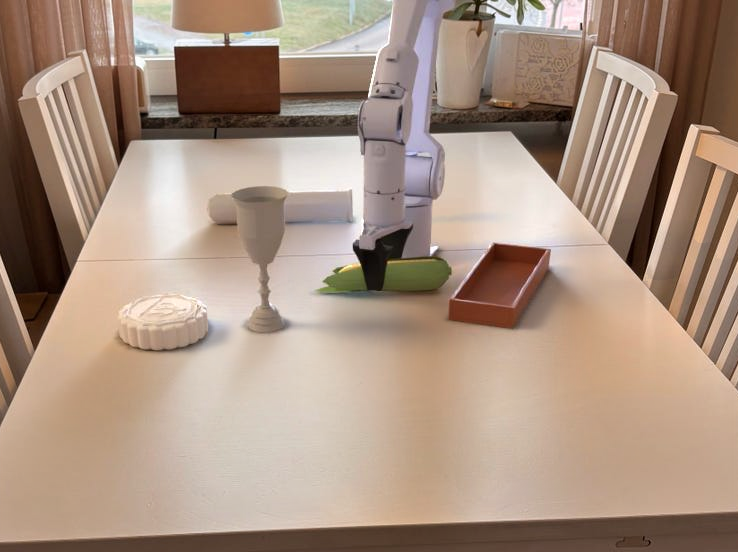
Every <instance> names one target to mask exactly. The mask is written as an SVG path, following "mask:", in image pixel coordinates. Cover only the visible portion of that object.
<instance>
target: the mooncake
mask: <svg viewBox="0 0 738 552" xmlns="http://www.w3.org/2000/svg"><path fill="white" fill-rule="evenodd" d="M117 326H118V333H119V337H120V338H121V339H122V341H123V343H124V344H128V345H130V347H132V348H139V349H141V350H145V351H146V350H147V351H148V350H152V351H163V350H167V351H168V350H169V351H170V350H171V351H172V350H174V349H176V348H185V347H187V346H188V345H192V344H196V343H197V342H198V341H199V340H202V339H203V338H205V336H206V334H207V333H208V332H209V322H208V310H207V306H206V305H205V304H203V302H202V301H201V300H197V299H196V298H194V297H191V296H185V295H183V294H180V293H177V294H171V293H163V294H156V295H152V296H141V297H140V298H138V299H136V300H131V301H130V302H129V304H125V305H123V306H122V307H121V309H120V310H119V311H118V312H117Z"/></svg>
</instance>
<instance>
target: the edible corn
mask: <svg viewBox="0 0 738 552" xmlns="http://www.w3.org/2000/svg"><path fill="white" fill-rule="evenodd" d="M452 270H453V269H452V266H450V265H449V263H448V262H447V260H445V259H444V258H442V257H438V256H432V257H429V256H424V257H410V258H400V259H392V260H388V263H387V267H386V273H385V280H384V285H383V288H382V291H381V292H427V291H436V290H437V289H438V288H441V287H442V286H443V285H444V284H445V283H446V282H447V281H448V280H449V278H450V276H452V274H453V273H452V272H453V271H452ZM331 272H333V274H331V275H328V276H326V277H325V278H324V279H323V280H322V281H321V283H323V284H325V285H327V286H324V287H320V288H318V289H315V290H314V292H319V293H326V294H327V293H328V294H329V293H330V294H345V293H354V292H355V293H356V292H372V291H371V290H367V287H366V283H365V279H364V274H363V271H362V267H361V264H360V262H356V263H352V264H348V265H343V266H339V267H336V268H334V269H333V270H331Z"/></svg>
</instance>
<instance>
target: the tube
mask: <svg viewBox="0 0 738 552" xmlns="http://www.w3.org/2000/svg"><path fill="white" fill-rule="evenodd" d="M286 191H287V192H288V194H287V197H286V199H285V201H284V214H285V223H311V222H349V223H353V220H354V219H353V216H354V215H353V214H354V210H353V209H354V208H353V207H354V206H353V205H354V204H353V203H354V202H353V189H352V187H349V188H347V189H327V190H293V191H289V190H286ZM232 193H233V192H221V193H220V192H219V193H214V195H212V196H211V197H210V198H209V199H208V200H207V206H206V210H207V211H206V212H207V214H208V216H209V218H210V220H211V221H212V222H213V223H214V224H217V225H235V224H237V210H236V203H235V201H234V200H233V198H232Z"/></svg>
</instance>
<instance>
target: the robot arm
mask: <svg viewBox="0 0 738 552" xmlns="http://www.w3.org/2000/svg"><path fill="white" fill-rule="evenodd" d="M456 1H457V0H392V9H391V17H390V24H389V33H388V41H387V43H386V44H385V45H384V46H382V47H381V48H380V49H379V50H378V51H377V55H376V60H375V63H374V68H373V74H372V78H371V83H370V86H369V92H368V97H367V100H362V101H361V103H360V105H359V109H358V116H357V134H358V137H359V138H358V139H359V143H360V146H359V147H360V151H359V152H360V155H361V156H363V200H362V201H363V202H362V203H363V208H362V209H363V215H362V219H361V233H360V234H359V238H358V239H355V241H354V242H352V251H353V253H354V254H355V256H356V258H357V259H358V263H360V264H361V267H362V271H363V274H364V279H365V283H366V287H367V290H371V291H370V292H378V293H379V292H383V291H382V288H383V285H384V280H385V273H386V267H387V263H388V260H392V259H400V258H410V257H424V256H429V257H434V255H435V254H436V253H438V251H439V246H436V245H432V244H431V243H432V224H433V201H437V200H438V199H439V198H440V197H441V196H442V193H443V191H444V190H443V189H444V184H445V176H446V166H445V159H446V152H445V149H444V146H443V145H442V143H440V142H439V141H438V140H437V139H436V138H435V137H434V136H433V135H432V134H430V124H431V114H432V105H433V95H434V88H435V87H434V86H435V77H436V66H437V57H438V49H439V39H440V29H441V25H442V21H443V17H444V14H445V13H447V12H448V11H450V10H452V9H454V8H455V7H456ZM406 152H410V153H417V154H427V155H429V156H425V155H424V156H423V155H417V156H411V155H406Z"/></svg>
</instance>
